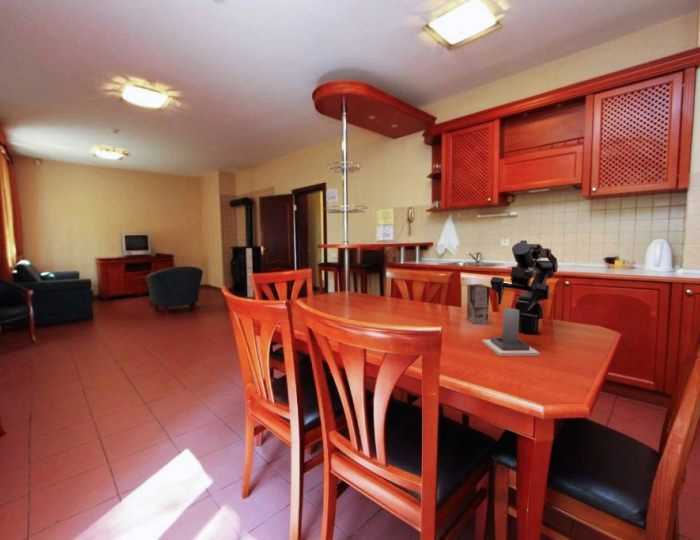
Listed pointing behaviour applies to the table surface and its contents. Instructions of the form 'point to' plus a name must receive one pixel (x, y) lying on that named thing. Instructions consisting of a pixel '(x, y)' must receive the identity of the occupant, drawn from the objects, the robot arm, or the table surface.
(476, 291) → the coffee box
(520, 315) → the robot arm
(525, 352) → the seat board
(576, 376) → the table surface
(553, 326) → the table surface
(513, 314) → the slate post
